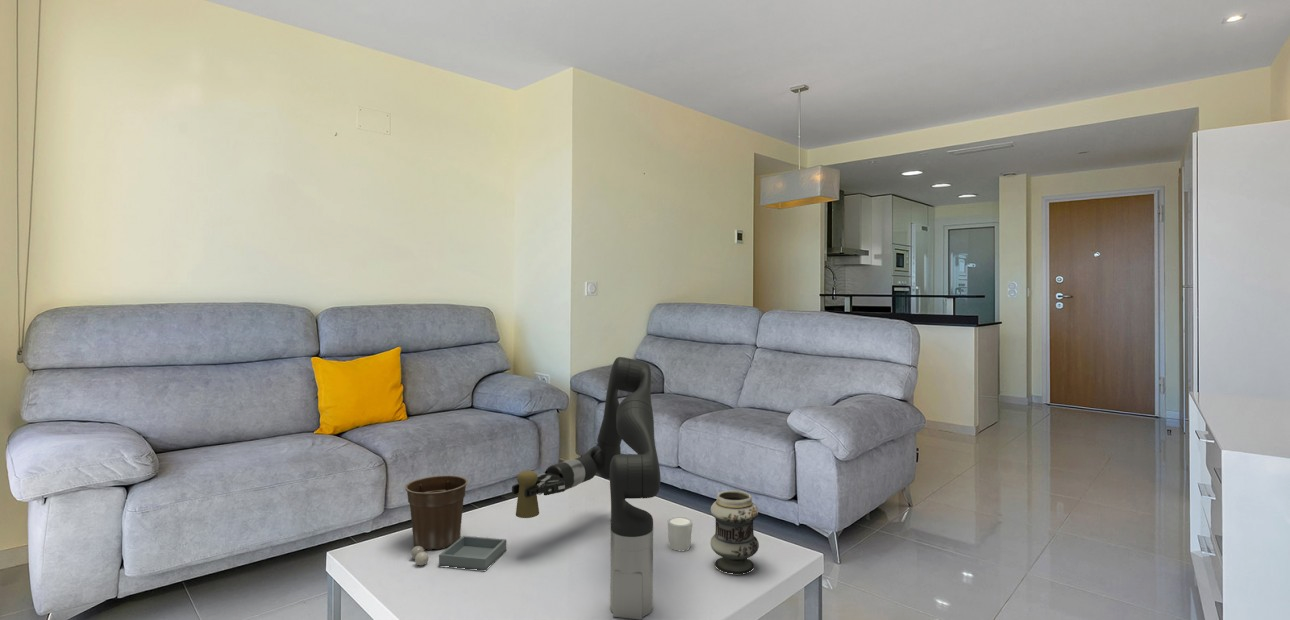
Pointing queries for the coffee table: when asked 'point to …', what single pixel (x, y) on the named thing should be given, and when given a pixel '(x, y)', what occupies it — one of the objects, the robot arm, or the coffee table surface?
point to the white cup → (679, 533)
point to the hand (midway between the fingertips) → (519, 491)
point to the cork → (524, 504)
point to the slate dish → (473, 552)
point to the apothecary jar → (734, 531)
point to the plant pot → (436, 510)
